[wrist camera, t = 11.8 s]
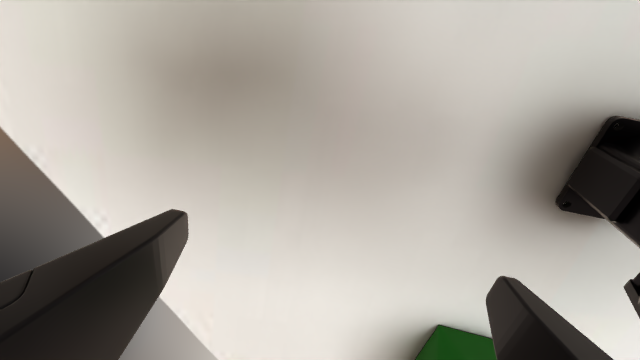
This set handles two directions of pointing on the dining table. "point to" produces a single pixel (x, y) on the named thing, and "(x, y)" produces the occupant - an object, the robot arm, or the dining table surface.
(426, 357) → the milk carton
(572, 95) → the dining table surface
